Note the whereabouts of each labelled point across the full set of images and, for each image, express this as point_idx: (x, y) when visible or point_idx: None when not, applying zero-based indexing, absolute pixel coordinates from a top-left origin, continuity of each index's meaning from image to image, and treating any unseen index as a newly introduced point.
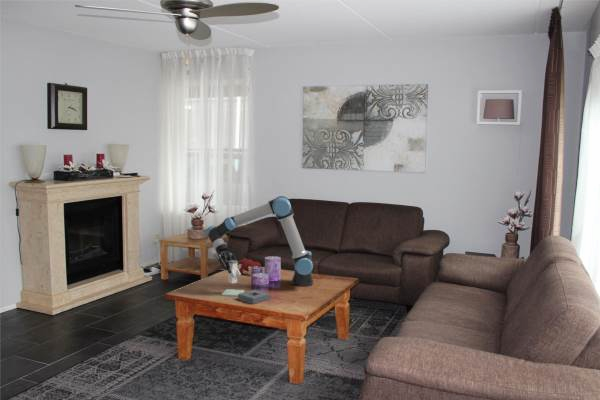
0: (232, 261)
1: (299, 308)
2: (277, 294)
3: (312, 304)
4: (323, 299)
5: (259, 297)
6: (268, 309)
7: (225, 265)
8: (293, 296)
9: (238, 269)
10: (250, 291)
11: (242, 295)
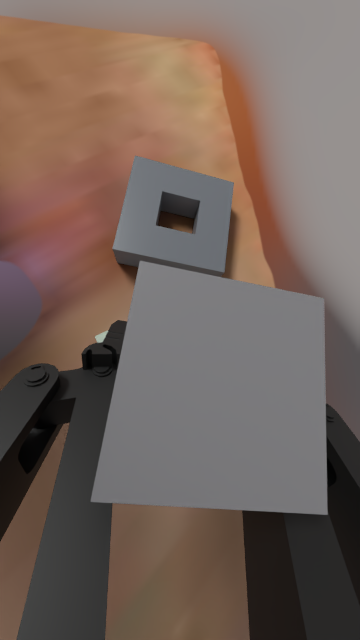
0: (280, 347)
1: (162, 64)
2: (46, 186)
3: (95, 41)
4: (9, 22)
5: (199, 175)
6: (234, 137)
7: (336, 430)
8: (36, 121)
9: (117, 328)
10: (155, 248)
11: (226, 245)
